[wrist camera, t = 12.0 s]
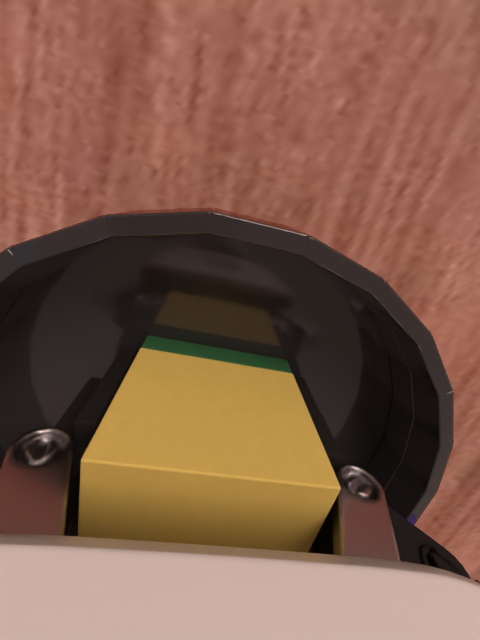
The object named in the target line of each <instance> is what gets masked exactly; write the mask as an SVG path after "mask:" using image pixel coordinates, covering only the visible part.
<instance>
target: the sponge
mask: <svg viewBox="0 0 480 640" xmlns="http://www.w3.org/2000/svg"><path fill="white" fill-rule="evenodd" d="M340 489H341V488H340V485H339V482H338V480H337V478H336V475H335V473H334V470H333V468H332V466H331V463H330V461H329V459H328V456H327V454H326V452H325V449H324V447H323V444H322V442H321V440H320V437H319V435H318V433H317V430H316V428H315V425H314V423H313V421H312V418H311V416H310V414H309V411H308V409H307V406H306V404H305V402H304V399H303V397H302V395H301V392H300V390H299V388H298V385H297V383H296V380H295V378H294V376H293V374H292V372H291V369H290V367H289V364H288V362H287V360H285V359H280V358H274V357H269V356H263V355H257V354H252V353H246V352H240V351H235V350H229V349H223V348H218V347H212V346H206V345H201V344H195V343H189V342H184V341H178V340H172V339H167V338H161V337H156V336H150V335H148V336H147V337H146V339H145V341H144V342H143V344H142V346H141V348H140V350H139V351H138V353H137V355H136V357H135V359H134V361H133V363H132V365H131V366H130V368H129V370H128V372H127V374H126V376H125V378H124V380H123V381H122V383H121V385H120V387H119V389H118V391H117V393H116V395H115V396H114V398H113V400H112V402H111V404H110V406H109V408H108V410H107V411H106V413H105V415H104V417H103V419H102V421H101V423H100V425H99V426H98V428H97V430H96V432H95V434H94V436H93V438H92V440H91V441H90V443H89V445H88V447H87V449H86V451H85V453H84V455H83V456H82V458H81V465H80V490H79V515H78V536H80V537H95V538H110V539H125V540H140V541H155V542H170V543H184V544H198V545H212V546H226V547H240V548H253V549H267V550H280V551H293V552H306V553H308V551H309V549H310V547H311V546H312V544H313V542H314V540H315V538H316V536H317V534H318V532H319V530H320V528H321V526H322V524H323V522H324V521H325V519H326V517H327V515H328V513H329V511H330V509H331V507H332V505H333V503H334V501H335V499H336V497H337V496H338V494H339V492H340Z"/></svg>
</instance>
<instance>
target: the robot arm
mask: <svg viewBox="0 0 480 640" xmlns="http://www.w3.org/2000/svg"><path fill="white" fill-rule="evenodd" d="M138 351H139V350H138V349H134V348H128V347H123V348H122V349H121V351H120V352H119V354H118V355H117V357H116V358H115V360H114V361H113V363H112V364H111V366H110V367H109V369H108V370H107V372H106V373H105V375H104V376H103V378H95V377H91V378H90V379H89V380H88V381H87V383H86V384H85V386H84V387H83V388H82V390H81V391H80V392H79V394H78V395H77V397H76V398H75V399H74V401H73V402H72V403H71V405H70V406H69V408H68V409H67V410H66V412H65V413H64V414H63V416H62V417H61V418H60V420H59V421H58V423H57V424H56V425H55V427H42V428H37V429H34V430H31V431H29V432H26V433H25V434H23V435H21V436H20V437H18V438H17V439H16V440H15V441H14V442H13V443H12V444H11V445H10V447H9V448H8V450H7V452H6V455H5V458H4V460H1V461H0V640H480V582H479V581H478V580H475V581H473V580H471V579H470V577H469V575H468V573H467V572H466V570H465V569H464V567H463V566H462V565H461V563H460V562H459V561H458V560H457V559H456V558H455V557H454V556H453V555H452V554H451V553H450V552H449V551H447V550H446V549H445V548H444V547H442V546H441V545H440V544H438V543H437V542H436V541H434V540H433V539H432V538H430V537H429V536H428V535H426V534H425V533H424V532H422V531H421V530H420V529H418V528H417V527H416V526H414V525H413V524H412V523H410V522H409V521H408V520H406V519H405V518H404V517H402V516H401V515H400V514H398V513H397V512H396V511H394V510H393V509H392V508H390V507H389V506H388V505H387V502H386V498H385V494H384V491H383V488H382V486H381V484H380V483H379V482H378V480H377V479H376V478H375V477H374V476H373V475H372V474H371V473H370V472H368V471H367V470H366V469H364V468H362V467H360V466H358V465H354V464H346V463H345V461H344V459H343V456H342V454H341V452H340V450H339V448H338V446H337V444H336V442H335V440H334V438H333V436H332V433H331V431H330V429H329V427H328V425H327V423H326V421H325V419H324V417H323V415H322V413H321V412H320V411H319V409H318V406H317V404H316V402H315V400H314V398H313V396H312V394H311V392H310V390H309V387H308V385H307V383H306V381H305V379H304V378H303V377H299V376H294V378H295V380H296V383H297V385H298V388H299V390H300V392H301V395H302V397H303V399H304V402H305V404H306V406H307V409H308V411H309V414H310V416H311V418H312V421H313V423H314V425H315V428H316V430H317V433H318V435H319V437H320V440H321V442H322V444H323V447H324V449H325V452H326V454H327V456H328V459H329V461H330V463H331V466H332V468H333V470H334V473H335V475H336V478H337V480H338V482H339V485H340V488H341V489H340V492H339V494H338V496H337V497H336V499H335V501H334V503H333V505H332V507H331V509H330V511H329V513H328V515H327V517H326V519H325V521H324V522H323V524H322V526H321V528H320V530H319V532H318V534H317V536H316V538H315V540H314V542H313V544H312V546H311V547H310V549H309V551H308V553H306V552H293V551H280V550H267V549H253V548H240V547H226V546H212V545H198V544H184V543H170V542H155V541H140V540H125V539H110V538H95V537H80V536H70V529H71V521H72V520H73V519H75V518H77V517H78V515H79V490H80V465H81V458H82V456H83V455H84V453H85V451H86V449H87V447H88V445H89V443H90V441H91V440H92V438H93V436H94V434H95V432H96V430H97V428H98V426H99V425H100V423H101V421H102V419H103V417H104V415H105V413H106V411H107V410H108V408H109V406H110V404H111V402H112V400H113V398H114V396H115V395H116V393H117V391H118V389H119V387H120V385H121V383H122V381H123V380H124V378H125V376H126V374H127V372H128V370H129V368H130V366H131V365H132V363H133V361H134V359H135V357H136V355H137V353H138Z"/></svg>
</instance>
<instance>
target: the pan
mask: <svg viewBox="0 0 480 640" xmlns="http://www.w3.org/2000/svg"><path fill="white" fill-rule="evenodd" d="M148 335H150V336H156V337H161V338H167V339H172V340H178V341H184V342H189V343H195V344H201V345H206V346H212V347H218V348H223V349H229V350H235V351H240V352H246V353H252V354H257V355H263V356H269V357H274V358H280V359H285V360H287V362H288V364H289V367H290V369H291V372H292V374H293V376H299V377H303V378H304V379H305V381H306V383H307V385H308V387H309V390H310V392H311V394H312V396H313V398H314V400H315V402H316V404H317V406H318V409H319V411H320V412H321V413H322V415H323V417H324V419H325V421H326V423H327V425H328V427H329V429H330V431H331V433H332V436H333V438H334V440H335V442H336V444H337V446H338V448H339V450H340V452H341V454H342V456H343V459H344V461H345V463H346V464H354V465H358V466H360V467H362V468H364V469H366V470H367V471H368V472H370V473H371V474H372V475H373V476H374V477H375V478H376V479H377V480H378V482H379V483H380V484H381V486H382V488H383V491H384V494H385V498H386V502H387V505H388V506H389V507H390V508H392V509H393V510H394V511H396V512H397V513H398V514H400V515H401V516H402V517H404V518H405V519H406V520H408V521H409V522H410V523H412V524H413V525H414V524H415V523H416V522H417V520H418V519H419V517H420V516H421V514H422V513H423V511H424V510H425V509H426V507H427V506H428V504H429V503H430V501H431V500H432V499H433V497H434V496H435V494H436V493H437V491H438V488H439V485H440V482H441V479H442V476H443V473H444V471H445V468H446V465H447V462H448V459H449V456H450V453H451V450H452V447H453V389H452V386H451V383H450V381H449V378H448V376H447V373H446V370H445V368H444V365H443V362H442V360H441V357H440V354H439V352H438V349H437V346H436V344H435V341H434V339H433V336H432V335H431V332H430V331H429V330H428V329H427V328H426V327H425V325H424V324H423V323H422V322H421V321H420V320H419V318H418V317H417V316H416V315H415V314H414V313H413V312H412V310H411V309H410V308H409V307H408V306H407V305H406V304H405V302H404V301H403V300H402V299H401V298H400V297H399V296H398V294H397V293H396V292H395V291H394V290H393V289H392V288H391V286H390V285H389V284H388V283H387V282H386V281H385V280H384V279H383V278H382V277H380V276H378V275H377V274H375V273H373V272H371V271H370V270H368V269H366V268H365V267H363V266H361V265H360V264H358V263H356V262H354V261H353V260H351V259H349V258H348V257H346V256H344V255H343V254H341V253H339V252H337V251H336V250H334V249H332V248H331V247H329V246H327V245H326V244H324V243H322V242H320V241H319V240H317V239H315V238H314V237H312V236H310V235H307V234H305V233H302V232H300V231H297V230H295V229H292V228H290V227H287V226H284V225H282V224H277V223H273V222H269V221H265V220H261V219H257V218H253V217H250V216H247V215H241V214H237V213H233V212H229V211H225V210H221V209H217V208H214V209H213V208H192V209H164V210H139V211H131V212H123V213H116V214H108V215H102V216H99V217H96V218H93V219H90V220H87V221H84V222H81V223H78V224H75V225H72V226H69V227H66V228H63V229H60V230H58V231H55V232H52V233H49V234H46V235H43V236H40V237H37V238H34V239H31V240H28V241H25V242H22V243H19V244H16V245H13V246H10V247H9V248H6V249H5V250H4V251H2V252H1V253H0V461H1V460H4V458H5V455H6V452H7V450H8V448H9V447H10V445H11V444H12V443H13V442H14V441H15V440H16V439H17V438H18V437H20V436H21V435H23V434H25V433H26V432H29V431H31V430H34V429H37V428H42V427H55V425H56V424H57V423H58V421H59V420H60V418H61V417H62V416H63V414H64V413H65V412H66V410H67V409H68V408H69V406H70V405H71V403H72V402H73V401H74V399H75V398H76V397H77V395H78V394H79V392H80V391H81V390H82V388H83V387H84V386H85V384H86V383H87V381H88V380H89V379H90V378H91V377H95V378H103V376H104V375H105V373H106V372H107V370H108V369H109V367H110V366H111V364H112V363H113V361H114V360H115V358H116V357H117V355H118V354H119V352H120V351H121V349H122V348H123V347H128V348H134V349H138V350H140V348H141V346H142V344H143V342H144V341H145V339H146V337H147V336H148ZM70 536H78V517H77V518H75V519H73V520H72V521H71V529H70Z"/></svg>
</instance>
